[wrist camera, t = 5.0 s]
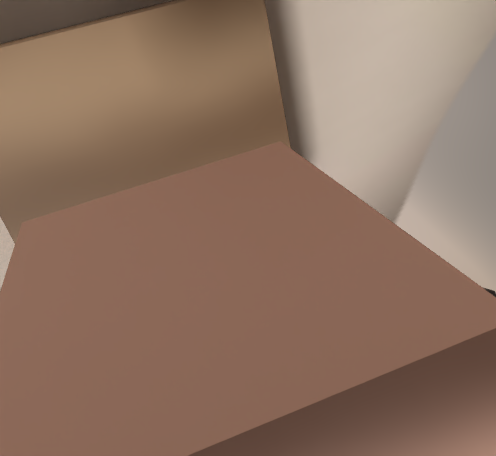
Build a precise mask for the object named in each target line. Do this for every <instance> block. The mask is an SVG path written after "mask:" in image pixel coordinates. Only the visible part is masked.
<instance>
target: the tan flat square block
mask: <svg viewBox="0 0 496 456" xmlns="http://www.w3.org/2000/svg"><path fill="white" fill-rule="evenodd" d="M280 141H281V142H282V143H284V144H285V145H287V146H288V147H289V148H291V147H290V141H289V135H288V130H287V124H286V119H285V113H284V107H283V102H282V96H281V91H280V85H279V79H278V74H277V68H276V63H275V57H274V51H273V46H272V40H271V35H270V29H269V23H268V18H267V12H266V7H265V1H264V0H173V1H169V2H165V3H161V4H158V5H154V6H150V7H146V8H142V9H138V10H134V11H130V12H126V13H122V14H118V15H114V16H110V17H106V18H102V19H98V20H94V21H90V22H86V23H82V24H78V25H74V26H70V27H66V28H62V29H58V30H55V31H51V32H47V33H43V34H39V35H35V36H31V37H27V38H23V39H19V40H15V41H11V42H7V43H3V44H0V216H1V218H2V220H3V222H4V224H5V226H6V228H7V230H8V232H9V233H10V235H11V237H12V239H13V241H14V243H16V240H17V237H18V234H19V231H20V227H21V224H22V222H25V221H28V220H31V219H34V218H38V217H41V216H44V215H47V214H50V213H54V212H57V211H60V210H63V209H66V208H69V207H73V206H76V205H79V204H82V203H85V202H89V201H92V200H95V199H98V198H101V197H104V196H108V195H111V194H114V193H117V192H120V191H124V190H127V189H130V188H133V187H136V186H140V185H143V184H146V183H149V182H152V181H155V180H159V179H162V178H165V177H168V176H171V175H175V174H178V173H181V172H184V171H187V170H190V169H194V168H197V167H200V166H203V165H206V164H210V163H213V162H216V161H219V160H222V159H225V158H229V157H232V156H235V155H238V154H241V153H245V152H248V151H251V150H254V149H257V148H261V147H264V146H267V145H270V144H273V143H276V142H280Z"/></svg>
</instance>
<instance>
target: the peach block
mask: <svg viewBox="0 0 496 456" xmlns="http://www.w3.org/2000/svg"><path fill="white" fill-rule="evenodd" d="M0 456H496V297H495V296H493V295H492V294H491V293H489V292H488V291H486V290H485V289H484V288H482V287H481V286H479V285H478V284H477V283H475V282H474V281H473V280H471V279H470V278H468V277H467V276H466V275H464V274H463V273H462V272H460V271H459V270H457V269H456V268H455V267H453V266H452V265H451V264H449V263H448V262H446V261H445V260H444V259H442V258H441V257H440V256H438V255H436V254H435V253H434V252H433V251H431V250H430V249H429V248H427V247H426V246H424V245H423V244H421V243H420V242H419V241H417V240H416V239H415V238H413V237H412V236H411V235H409V234H408V233H406V232H405V231H404V230H402V229H401V228H399V227H398V226H397V225H395V224H394V223H393V222H391V221H390V220H389V219H387V218H386V217H384V216H383V215H382V214H380V213H379V212H378V211H376V210H375V209H373V208H372V207H371V206H369V205H368V204H366V203H365V202H364V201H362V200H361V199H360V198H358V197H357V196H355V195H354V194H353V193H351V192H350V191H349V190H347V189H346V188H344V187H343V186H342V185H340V184H339V183H338V182H336V181H335V180H333V179H332V178H331V177H329V176H328V175H326V174H325V173H324V172H322V171H321V170H320V169H318V168H317V167H315V166H314V165H313V164H311V163H310V162H309V161H307V160H306V159H304V158H303V157H302V156H300V155H299V154H298V153H296V152H295V151H293V150H292V149H291V148H289V147H288V146H287V145H285V144H284V143H282V142H281V141H280V142H276V143H273V144H270V145H267V146H264V147H261V148H257V149H254V150H251V151H248V152H245V153H241V154H238V155H235V156H232V157H229V158H225V159H222V160H219V161H216V162H213V163H210V164H206V165H203V166H200V167H197V168H194V169H190V170H187V171H184V172H181V173H178V174H175V175H171V176H168V177H165V178H162V179H159V180H155V181H152V182H149V183H146V184H143V185H140V186H136V187H133V188H130V189H127V190H124V191H120V192H117V193H114V194H111V195H108V196H104V197H101V198H98V199H95V200H92V201H89V202H85V203H82V204H79V205H76V206H73V207H69V208H66V209H63V210H60V211H57V212H54V213H50V214H47V215H44V216H41V217H38V218H34V219H31V220H28V221H25V222H22V224H21V227H20V231H19V234H18V237H17V240H16V243H15V247H14V250H13V253H12V256H11V259H10V262H9V266H8V269H7V272H6V275H5V278H4V282H3V285H2V288H1V291H0Z"/></svg>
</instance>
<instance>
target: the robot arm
mask: <svg viewBox="0 0 496 456" xmlns="http://www.w3.org/2000/svg"><path fill="white" fill-rule="evenodd" d="M484 289H485V290H486V291H488V292H489V293H491V294H492V295H493V296H495V297H496V293H495V291H493V290H489V289H486V288H484Z"/></svg>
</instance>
